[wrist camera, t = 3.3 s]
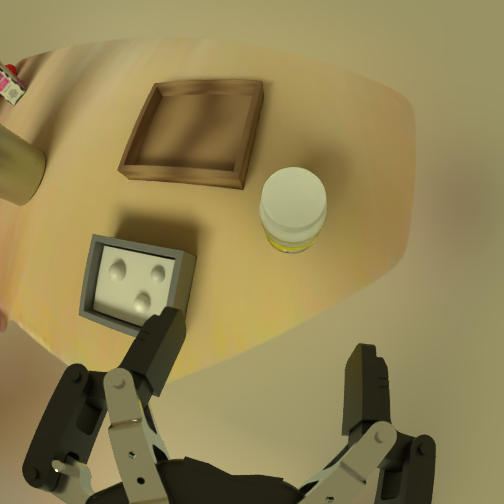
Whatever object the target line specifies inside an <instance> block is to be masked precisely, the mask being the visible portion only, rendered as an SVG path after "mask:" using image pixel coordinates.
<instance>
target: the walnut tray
mask: <svg viewBox="0 0 504 504" xmlns="http://www.w3.org/2000/svg"><path fill="white" fill-rule="evenodd" d="M263 98H264V92H263V84H262V81H254V80H191V81H176V82H164V83H155V84H154V85H153V87H152V89H151V91H150V93H149V95H148V97H147V99H146V102H145V104H144V106H143V108H142V110H141V112H140V114H139V117H138V119H137V121H136V123H135V126H134V128H133V131H132V133H131V135H130V138H129V140H128V143H127V145H126V148H125V151H124V153H123V156H122V159H121V161H120V164H119V167H118V171H119V172H120V173H122V174H123V175H124V176H125V177H127V178H128V179H129V180H146V181H161V182H173V183H185V184H196V185H206V186H215V187H224V188H232V189H241V190H243V188H244V183H245V178H246V174H247V169H248V165H249V160H250V155H251V151H252V146H253V142H254V137H255V133H256V129H257V124H258V120H259V115H260V111H261V107H262V103H263Z"/></svg>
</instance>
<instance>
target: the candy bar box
mask: <svg viewBox="0 0 504 504" xmlns="http://www.w3.org/2000/svg"><path fill="white" fill-rule="evenodd" d="M25 92H26V90H25V88H24V85H23V83H22V81H21V80H20V79H19V78H18V77H17V76H16V75H15V74H14V73H12V72H11V71H10V70H9V69H8V68H7V67H6V66H5V65H4V64H3V63H2V62H1V61H0V95H1V96H2V97H3V98H5V99H6V100H7V101H8V102H10V103H11V104H12V105H13V106H14V105H15V104H16V103H17V102H18V100H19V99H20V98H21V97H22V95H23V94H24V93H25Z"/></svg>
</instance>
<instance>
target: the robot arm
mask: <svg viewBox="0 0 504 504" xmlns="http://www.w3.org/2000/svg"><path fill="white" fill-rule="evenodd" d="M44 169H45V155H44V153H43V152H42V151H40V150H38V149H37V148H35V147H34V146H32V145H31V144H29V143H28V142H26V141H25V140H23V139H22V138H20V137H19V136H17V135H16V134H14V133H13V132H11V131H10V130H8V129H7V128H5V127H4V126H2V125H1V124H0V198H2V199H4V200H7V201H9V202H11V203H14V204H16V205H23V204H25V203H27V202H28V201H29V200H30V198H31V197H32V196H33V195H34V193H35V191H36V190H37V188H38V186H39V184H40V181H41V179H42V176H43V173H44ZM185 337H186V325H185V320H184V315H183V311H182V310H181V309H177V308H173V307H170V306H165V307H164V309H163V310H162V312H161V314H160V316H159V315H156V314H154V315H152V316H151V317H150V318H149V319H147V320H146V321H145V323H144V324H143V326H142V328H141V329H140V332H139V333H138V335H137V336H136V339H135V340H134V341H133V343H132V345H131V347H130V348H129V350H128V352H127V354H126V356H125V357H124V359H123V361H122V363H121V364H120V365H119V367H117V368H115V369H112V370H110V371H109V372H97V371H88V370H87V369H86V367H85V366H84V365H82V364H78V363H77V364H72V365H70V366H69V367H68V368H67V369H66V370H65V372H64V374H63V376H62V378H61V379H60V381H59V383H58V385H57V387H56V389H55V391H54V393H53V395H52V397H51V399H50V401H49V403H48V405H47V408H46V410H45V412H44V414H43V416H42V419H41V421H40V423H39V425H38V428H37V430H36V432H35V435H34V437H33V440H32V442H31V444H30V447H29V450H28V453H27V455H26V458H25V460H24V463H23V467H22V472H23V476H24V478H25V480H26V481H27V482H28V484H29V485H31V486H32V487H35V488H38V489H41V490H44V491H46V492H50V493H52V494H53V495H55V496H56V497H58V498H59V499H61V500H62V501H64V502H65V503H67V504H349V503H350V502H351V501H352V500H353V499H354V498H355V497H356V496H357V495H358V494H359V493H360V492H361V490H362V489H363V488H364V487H365V485H366V480H367V478H368V477H369V476H370V475H371V473H372V472H373V471H374V470H375V469H376V467H377V468H380V473H379V480H378V487H377V492H376V497H375V503H374V504H431V501H432V493H433V484H434V474H435V457H436V456H435V455H436V445H435V442H434V440H433V439H432V438H431V437H430V436H428V435H420V436H418V437H416V438H415V437H412V436H409V435H405V434H402V433H400V432H398V431H397V430H396V429H395V428H394V426H393V425H392V423H391V419H390V395H389V380H388V368H387V365H386V363H385V361H384V359H383V358H381V357H377V356H376V347H375V345H369V344H361V343H359V344H358V345H357V346H356V348H355V349H354V351H353V353H352V354H351V356H350V358H349V359H348V361H347V364H346V368H345V387H344V389H345V390H344V408H343V423H342V435H346V436H349V439H348V443H346V445H345V446H344V447H343V448H342V449H341V450H340V451H339V452H338V453H337V454H336V455H335V456H334V457H333V458H332V459H331V460H330V461H329V462H328V463H327V464H326V465H325V466H324V467H323V468H322V469H321V470H320V471H318V472H317V473H315V474H314V475H313V476H312V477H311V478H309V479H308V480H307V481H306V482H305V483H303V484H302V485H301V486H300V487H299V488H298V489H297V488H296V487H294V486H293V485H291V484H289V483H287V482H285V481H283V478H279V477H271V476H264V475H230V474H228V473H226V472H224V471H222V470H220V469H218V468H216V467H214V466H212V465H211V464H209V463H205V462H202V461H198V460H195V459H192V458H189V457H186V456H185V458H184V459H170V457H169V454H168V452H167V449H166V447H165V445H164V442H163V440H162V439H161V437H160V434H159V432H158V429H157V426H156V423H155V420H154V416H153V413H152V410H151V406H150V403H149V400H150V398H151V396H152V395H154V396H157V397H159V396H160V394H161V391H162V389H163V387H164V385H165V383H166V380H167V378H168V376H169V374H170V371H171V369H172V367H173V365H174V362H175V360H176V358H177V356H178V354H179V351H180V349H181V347H182V345H183V343H184V340H185ZM107 411H108V412H109V417H110V421H111V426H110V427H109V429H108V433H109V438H110V441H111V445H112V449H113V453H114V456H115V460H116V463H117V467H118V470H119V473H120V476H121V479H122V482H120V483H118V484H115V485H113V486H111V487H109V488H107V489H104V490H102V491H99V492H97V493H94V491H93V490H92V487H91V472H90V470H89V468H88V466H86V464H87V462H88V459H89V456H90V453H91V451H92V448H93V445H94V442H95V440H96V437H97V435H98V432H99V430H100V427H101V425H102V422H103V420H104V418H105V415H106V413H107ZM134 457H135V458H134ZM327 501H328V502H327Z"/></svg>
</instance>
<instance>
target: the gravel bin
mask: <svg viewBox="0 0 504 504" xmlns="http://www.w3.org/2000/svg"><path fill="white" fill-rule="evenodd" d="M196 259H197V257H196V256H194V255H191V254H189V253H187V252H185V251H181V250H176V249H170V248H165V247H159V246H154V245H148V244H143V243H138V242H132V241H127V240H122V239H117V238H111V237H106V236H101V235H96V234H93V235H92V240H91V244H90V249H89V253H88V258H87V263H86V268H85V274H84V280H83V286H82V293H81V300H80V307H79V315H80V316H82V317H84V318H87V319H89V320H91V321H94V322H96V323H99V324H101V325H104V326H106V327H109V328H111V329H114V330H117V331H119V332H122V333H125V334H127V335H130V336H133V337H136V336H137V335H138V333H139V332H140V329H141V328H142V326H143V324H144V323H145V321H146V320H147V319H149V318H150V317H151V316H152V315H154V314H156V315H159V316H160V314H161V312H162V310H163V309H164V307H165V306H170V307H173V308H177V309H181V310H182V311H183V315H184V320H185V318H186V312H187V306H188V301H189V295H190V290H191V285H192V280H193V274H194V269H195V264H196Z"/></svg>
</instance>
